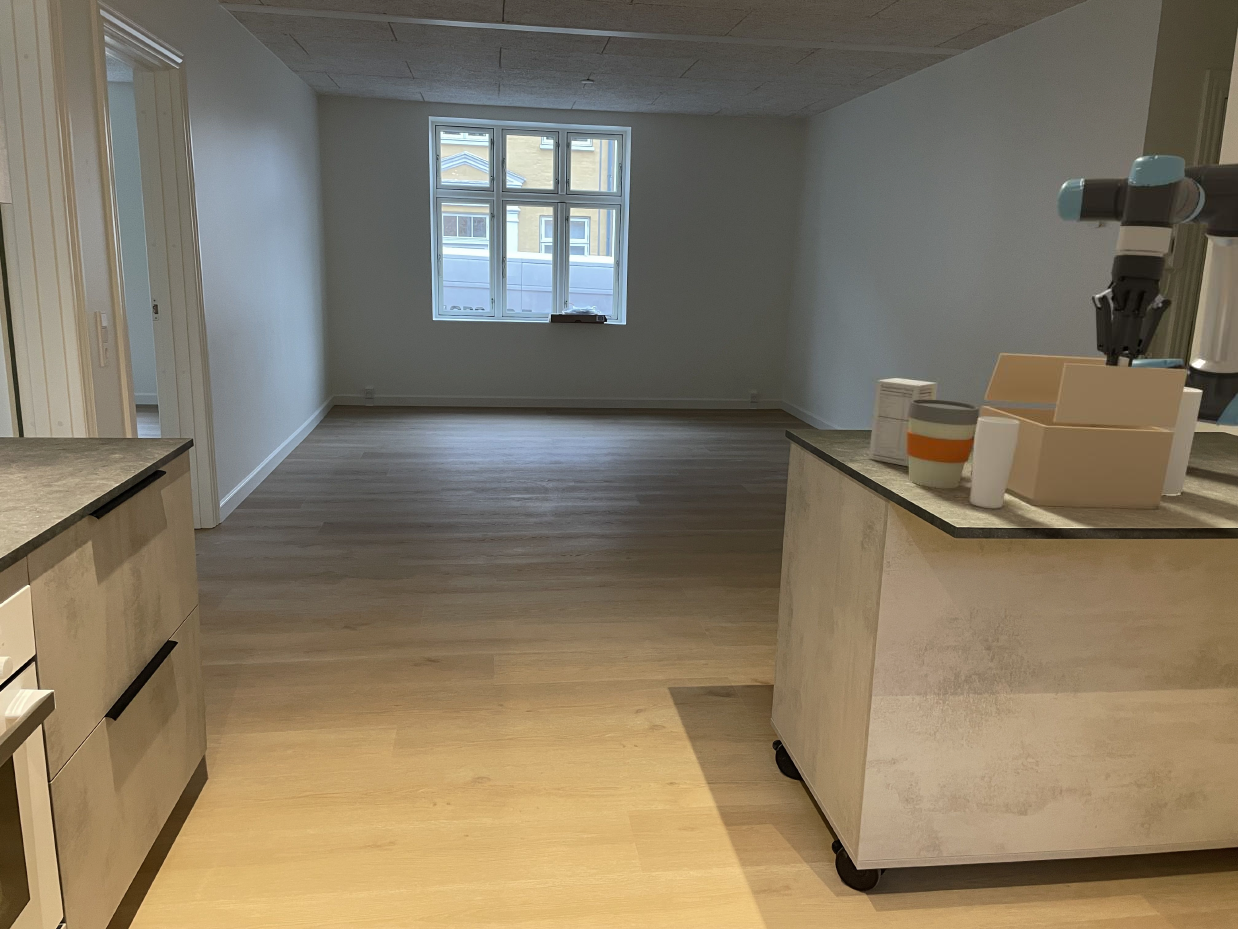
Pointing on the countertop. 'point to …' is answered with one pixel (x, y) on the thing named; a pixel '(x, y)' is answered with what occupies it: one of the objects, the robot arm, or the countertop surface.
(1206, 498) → the countertop surface
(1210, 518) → the countertop surface
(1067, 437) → the carton
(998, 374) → the flap
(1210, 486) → the countertop surface
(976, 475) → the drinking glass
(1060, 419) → the flap
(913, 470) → the reusable coffee cup
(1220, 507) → the countertop surface
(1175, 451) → the canister
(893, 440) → the supplement box
